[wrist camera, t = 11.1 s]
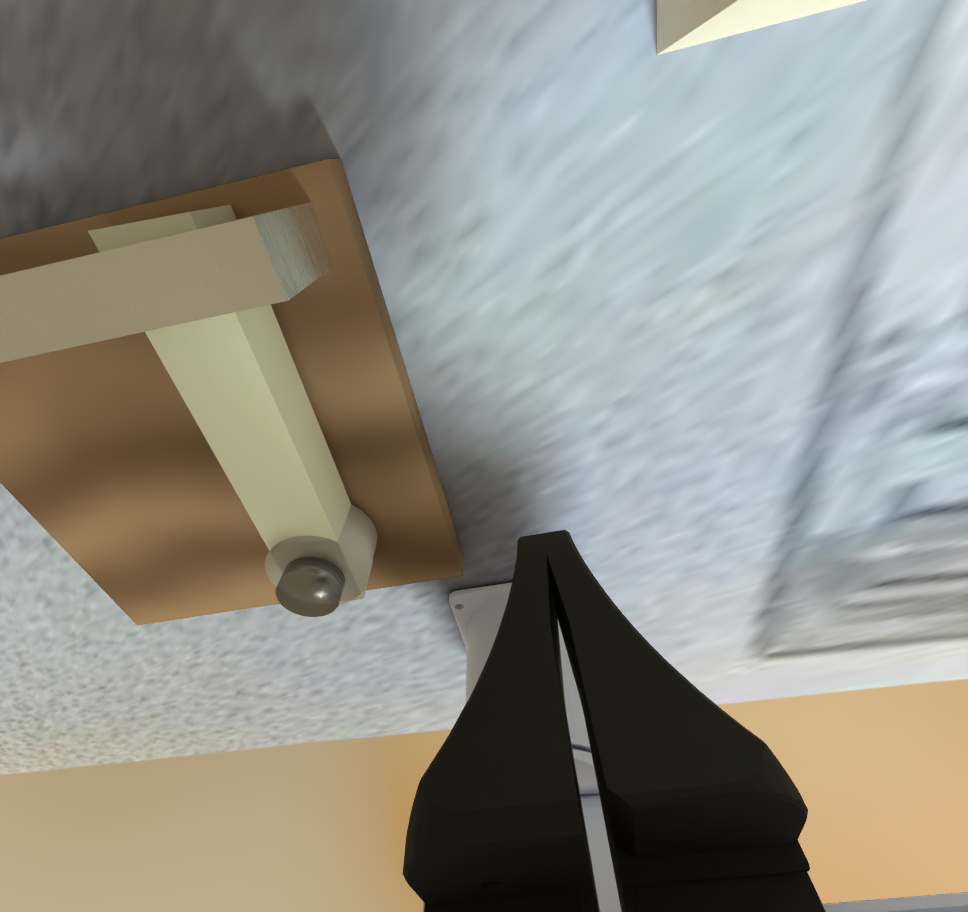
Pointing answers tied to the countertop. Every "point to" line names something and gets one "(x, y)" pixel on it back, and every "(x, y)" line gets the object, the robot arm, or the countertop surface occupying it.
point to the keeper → (162, 282)
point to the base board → (181, 444)
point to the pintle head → (310, 586)
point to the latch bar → (259, 422)
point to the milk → (727, 18)
